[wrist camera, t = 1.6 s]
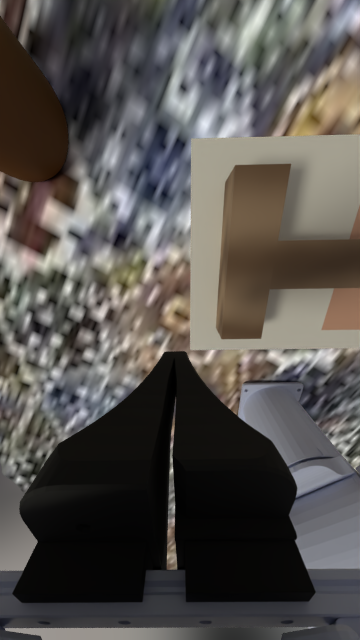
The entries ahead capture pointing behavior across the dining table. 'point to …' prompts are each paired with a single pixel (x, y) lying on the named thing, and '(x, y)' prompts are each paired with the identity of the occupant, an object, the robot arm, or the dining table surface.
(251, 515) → the robot arm
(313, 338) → the mat
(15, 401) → the dining table surface
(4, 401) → the dining table surface
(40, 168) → the mug
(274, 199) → the t block
